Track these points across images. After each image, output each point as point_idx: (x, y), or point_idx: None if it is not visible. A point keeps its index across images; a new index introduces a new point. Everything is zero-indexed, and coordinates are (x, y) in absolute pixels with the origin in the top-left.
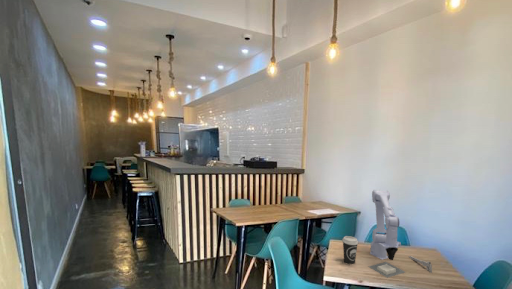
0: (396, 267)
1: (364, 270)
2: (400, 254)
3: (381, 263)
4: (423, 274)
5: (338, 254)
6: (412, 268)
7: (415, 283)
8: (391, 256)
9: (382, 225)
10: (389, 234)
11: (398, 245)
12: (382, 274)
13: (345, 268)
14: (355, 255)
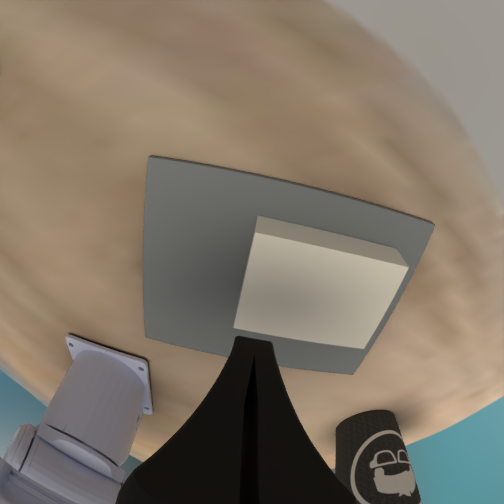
0: (147, 252)
1: (416, 359)
2: None
3: (207, 348)
4: (45, 64)
5: None
6: (32, 168)
7: (299, 2)
8: (277, 392)
9: None
10: None
11: (12, 472)
12: (408, 272)
13: (448, 398)
14: (380, 457)
